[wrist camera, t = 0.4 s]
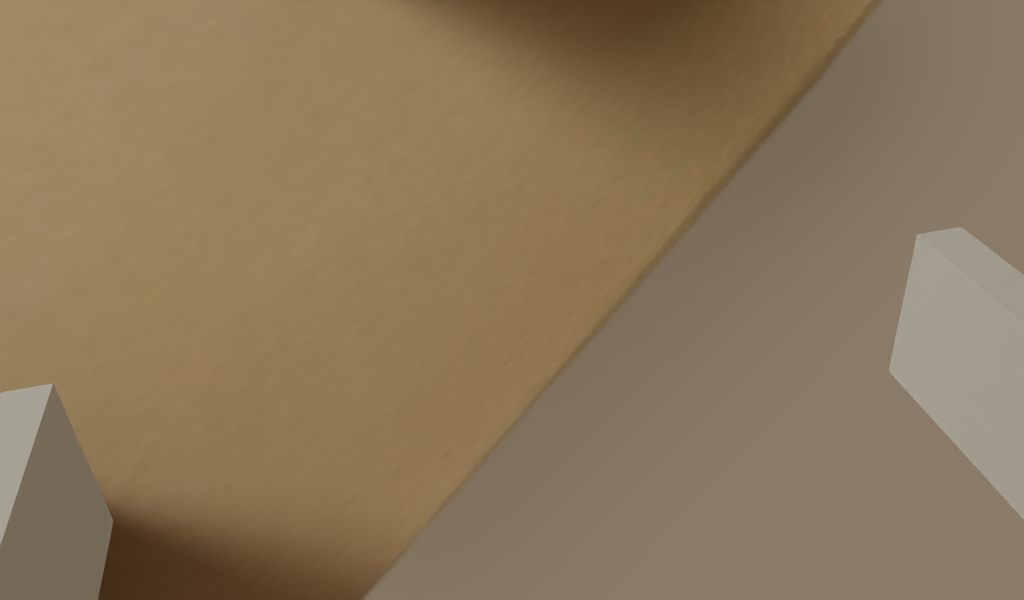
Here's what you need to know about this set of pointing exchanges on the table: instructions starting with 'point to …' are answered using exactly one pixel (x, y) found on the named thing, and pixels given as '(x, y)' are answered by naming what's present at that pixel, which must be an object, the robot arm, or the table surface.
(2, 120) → the table surface
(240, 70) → the table surface
